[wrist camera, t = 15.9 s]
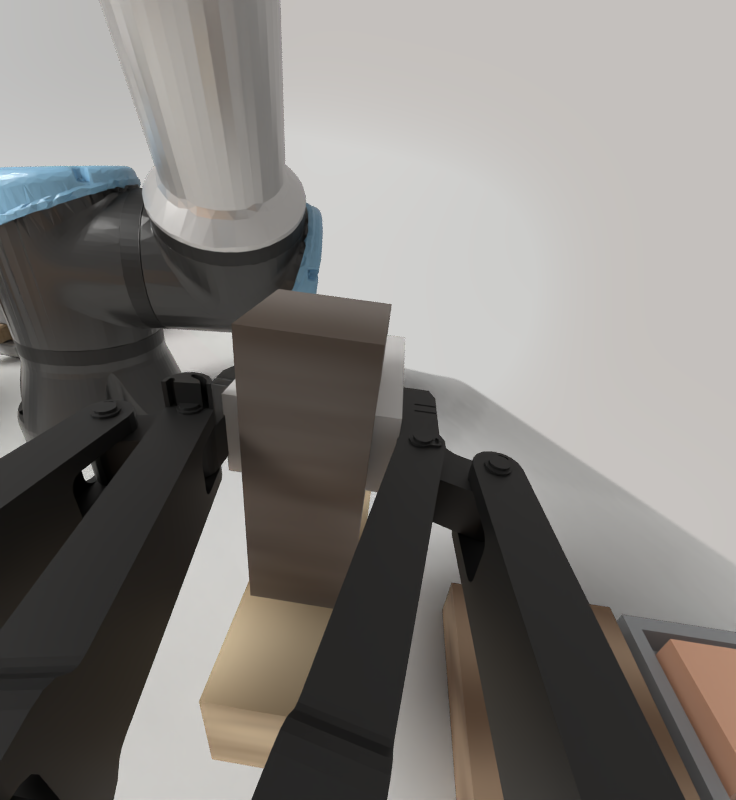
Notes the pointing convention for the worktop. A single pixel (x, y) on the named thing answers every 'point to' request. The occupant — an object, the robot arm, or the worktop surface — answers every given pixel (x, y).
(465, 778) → the board
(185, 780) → the worktop surface
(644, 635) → the tray
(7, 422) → the worktop surface
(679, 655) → the terracotta brick
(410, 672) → the worktop surface
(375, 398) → the dark wooden pillar
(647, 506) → the worktop surface
